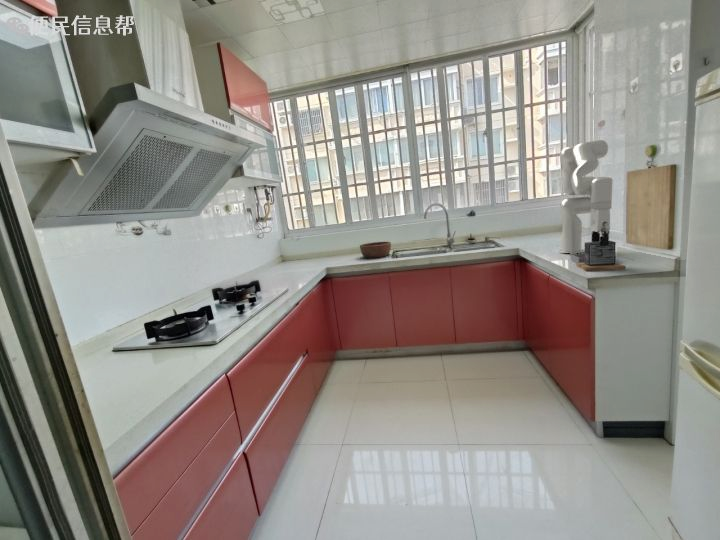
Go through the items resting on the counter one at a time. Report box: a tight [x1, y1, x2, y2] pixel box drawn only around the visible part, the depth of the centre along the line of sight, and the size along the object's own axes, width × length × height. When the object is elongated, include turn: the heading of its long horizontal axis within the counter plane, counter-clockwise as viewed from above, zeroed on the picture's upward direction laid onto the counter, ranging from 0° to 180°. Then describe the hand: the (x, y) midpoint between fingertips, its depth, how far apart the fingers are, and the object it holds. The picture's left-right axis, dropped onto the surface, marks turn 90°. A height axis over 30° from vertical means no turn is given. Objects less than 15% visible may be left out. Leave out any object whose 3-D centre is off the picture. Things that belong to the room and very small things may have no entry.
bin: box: [570, 253, 617, 264], centre depth 166 cm, size 13×16×3 cm
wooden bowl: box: [359, 241, 392, 259], centre depth 264 cm, size 25×25×10 cm
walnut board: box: [576, 261, 627, 272], centre depth 153 cm, size 13×15×2 cm
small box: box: [584, 240, 617, 266], centre depth 152 cm, size 11×6×10 cm, turn 74°
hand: (599, 243), depth 151 cm, fingers open, 9 cm apart
